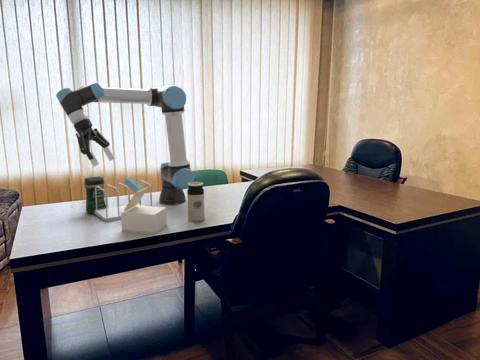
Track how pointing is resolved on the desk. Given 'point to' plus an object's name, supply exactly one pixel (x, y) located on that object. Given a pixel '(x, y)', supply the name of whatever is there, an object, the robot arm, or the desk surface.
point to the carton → (144, 219)
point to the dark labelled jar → (195, 201)
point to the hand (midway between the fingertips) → (104, 162)
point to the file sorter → (115, 212)
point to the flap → (138, 192)
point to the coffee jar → (90, 194)
